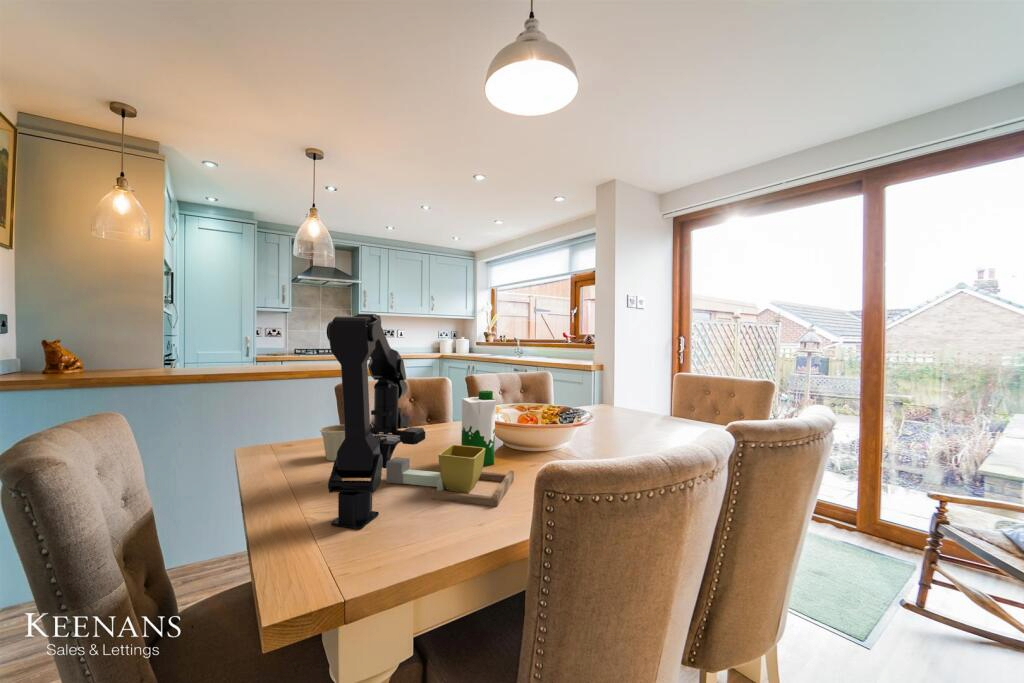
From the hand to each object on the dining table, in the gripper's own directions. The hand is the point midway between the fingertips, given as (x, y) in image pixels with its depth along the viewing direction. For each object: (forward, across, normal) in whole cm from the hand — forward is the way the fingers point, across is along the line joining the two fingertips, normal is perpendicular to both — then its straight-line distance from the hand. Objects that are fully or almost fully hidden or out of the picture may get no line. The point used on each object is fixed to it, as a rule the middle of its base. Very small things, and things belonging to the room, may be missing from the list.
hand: (385, 467), depth 101 cm
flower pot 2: (+3, -20, +1) cm, 21 cm away
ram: (+3, -9, 0) cm, 10 cm away
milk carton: (+3, -18, -19) cm, 26 cm away
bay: (+3, -23, 0) cm, 23 cm away
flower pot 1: (+3, +22, -12) cm, 25 cm away
